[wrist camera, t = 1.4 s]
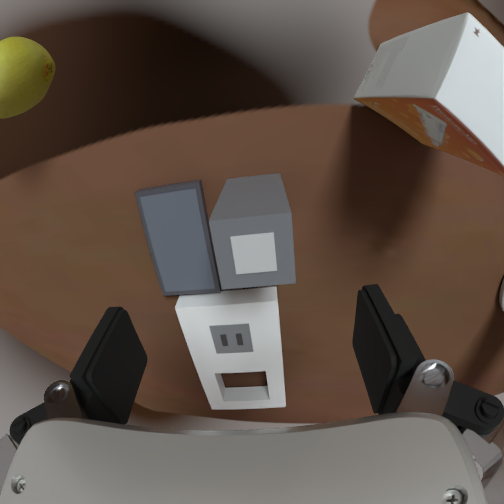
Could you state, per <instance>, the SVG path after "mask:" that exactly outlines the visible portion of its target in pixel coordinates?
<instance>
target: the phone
mask: <svg viewBox="0 0 504 504" xmlns="http://www.w3.org/2000/svg"><path fill="white" fill-rule="evenodd" d="M135 195H136V199H137V203H138V207H139V211H140V215H141V219H142V223H143V227H144V231H145V235H146V238H147V242H148V246H149V249H150V253H151V256H152V260H153V263H154V266H155V270H156V273H157V276H158V280H159V283H160V286H161V289H162V292H163V295H164V296H168V295H184V294H200V293H214V292H220V291H221V283H220V278H219V273H218V268H217V263H216V258H215V253H214V248H213V242H212V237H211V232H210V227H209V221H208V216H207V210H206V205H205V199H204V193H203V188H202V182H201V180H195V181H189V182H182V183H176V184H169V185H163V186H157V187H152V188H146V189H140V190H138V191H136V192H135Z"/></svg>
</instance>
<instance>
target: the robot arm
mask: <svg viewBox="0 0 504 504" xmlns="http://www.w3.org/2000/svg"><path fill="white" fill-rule="evenodd" d="M499 303H500V307H501V309H502V310H503V311H504V279H503V282H502V285H501V289H500V295H499ZM353 348H354V352H355V355H356V358H357V361H358V364H359V367H360V370H361V373H362V376H363V379H364V383H365V386H366V389H367V392H368V396H369V399H370V402H371V406H372V409H373V412H374V413H375V414H376V413H378V414H379V415H375V416H368V417H362V418H356V419H350V420H344V421H337V422H330V423H322V424H314V425H306V426H297V427H286V428H273V429H257V430H223V431H222V430H183V429H166V428H153V427H143V426H134V425H125V424H126V423H127V422H128V419H129V416H130V412H131V409H132V406H133V403H134V400H135V397H136V394H137V391H138V388H139V385H140V382H141V379H142V376H143V373H144V370H145V367H146V364H147V355H146V353H145V350H144V348H143V346H142V344H141V342H140V340H139V337H138V335H137V333H136V331H135V329H134V326H133V324H132V322H131V319H130V317H129V315H128V312H127V311H126V310H124V309H123V308H122V307H109V308H108V309H107V310H106V312H105V314H104V315H103V317H102V319H101V320H100V322H99V324H98V325H97V327H96V329H95V331H94V332H93V334H92V336H91V338H90V339H89V341H88V343H87V345H86V347H85V348H84V350H83V352H82V354H81V356H80V357H79V359H78V361H77V363H76V365H75V367H74V369H73V370H72V372H71V375H70V377H71V380H70V382H68V381H66V380H58V381H55V382H53V383H52V384H50V386H49V387H47V389H46V391H45V393H44V403H42V404H40V405H39V406H37V407H35V408H33V409H31V410H29V411H27V412H26V413H24V414H22V415H20V416H18V417H17V418H16V419H15V420H14V421H13V422H12V424H11V426H10V435H8V434H6V435H5V436H4V437H2V438H1V439H0V504H504V407H503V405H502V403H501V401H500V400H499V399H498V398H497V397H495V396H493V395H490V394H488V393H485V392H482V391H480V390H477V389H474V388H472V387H469V386H467V385H464V384H462V383H459V382H456V381H454V375H453V371H452V370H451V368H450V367H449V366H448V365H447V364H446V363H444V362H442V361H439V360H427V361H426V360H425V358H424V356H423V354H422V352H421V350H420V349H419V347H418V345H417V343H416V341H415V339H414V337H413V336H412V334H411V332H410V330H409V328H408V326H407V325H406V323H405V321H404V319H403V318H402V316H401V315H400V314H394V312H393V310H392V308H391V306H390V305H389V303H388V301H387V299H386V298H385V296H384V294H383V292H382V291H381V289H380V287H379V286H378V284H373V285H366V286H363V287H362V290H359V291H358V296H357V306H356V316H355V325H354V333H353ZM472 455H473V456H474V457H476V458H475V459H473V456H472ZM474 460H475V461H476V462H477V463H478V464H479V465H480V466H481V467H482V470H483V478H482V480H481V479H480V476H479V473H478V470H477V467H476V464H475V461H474Z"/></svg>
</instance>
